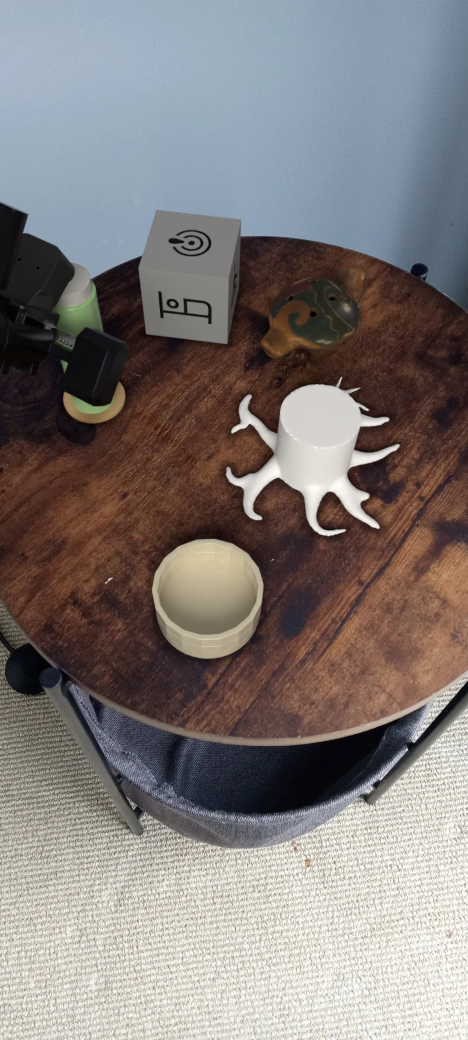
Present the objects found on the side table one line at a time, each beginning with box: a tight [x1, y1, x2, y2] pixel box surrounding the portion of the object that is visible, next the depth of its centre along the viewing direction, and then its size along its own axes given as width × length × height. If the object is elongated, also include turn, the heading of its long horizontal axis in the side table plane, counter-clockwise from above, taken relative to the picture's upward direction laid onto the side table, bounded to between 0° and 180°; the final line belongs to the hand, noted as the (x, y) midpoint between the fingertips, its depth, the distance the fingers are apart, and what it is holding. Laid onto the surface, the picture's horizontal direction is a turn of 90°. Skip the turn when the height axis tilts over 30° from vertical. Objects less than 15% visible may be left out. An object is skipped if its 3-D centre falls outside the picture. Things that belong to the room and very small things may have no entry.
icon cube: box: [138, 209, 242, 345], centre depth 86 cm, size 10×10×10 cm
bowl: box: [151, 538, 264, 659], centre depth 67 cm, size 10×10×5 cm
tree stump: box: [225, 376, 401, 537], centre depth 75 cm, size 20×19×8 cm
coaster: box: [62, 381, 127, 424], centre depth 82 cm, size 7×7×1 cm
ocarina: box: [260, 264, 368, 360], centre depth 85 cm, size 10×15×8 cm, turn 135°
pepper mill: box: [52, 262, 115, 414], centre depth 75 cm, size 5×5×17 cm
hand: (81, 342), depth 74 cm, fingers open, 9 cm apart
